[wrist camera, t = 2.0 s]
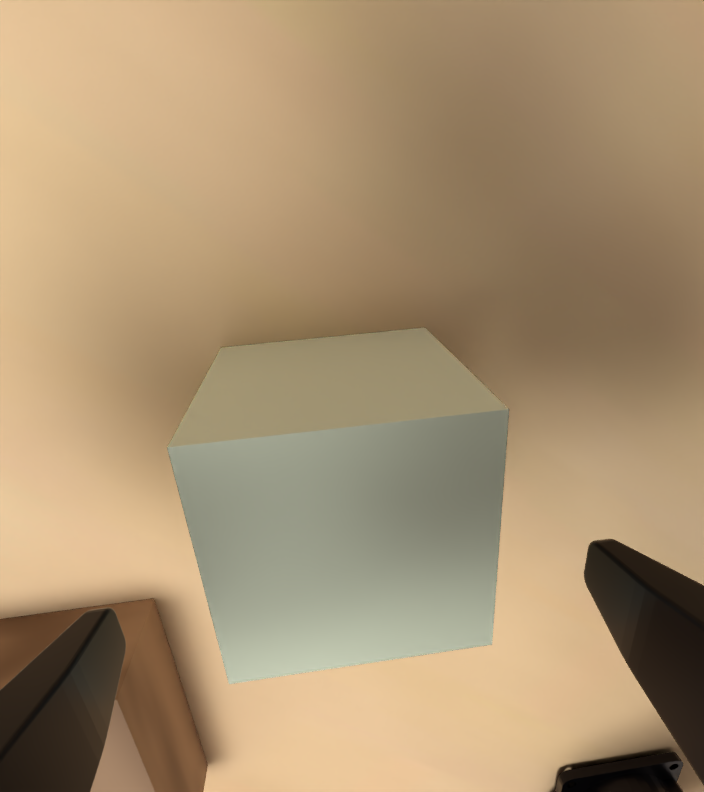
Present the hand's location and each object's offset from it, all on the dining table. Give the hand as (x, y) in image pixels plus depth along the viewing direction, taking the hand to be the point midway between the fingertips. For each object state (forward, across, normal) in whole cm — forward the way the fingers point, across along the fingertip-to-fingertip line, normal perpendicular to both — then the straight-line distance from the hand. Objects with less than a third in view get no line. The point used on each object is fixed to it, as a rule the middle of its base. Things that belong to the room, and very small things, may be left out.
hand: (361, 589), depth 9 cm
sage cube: (+7, 0, 0) cm, 7 cm away
